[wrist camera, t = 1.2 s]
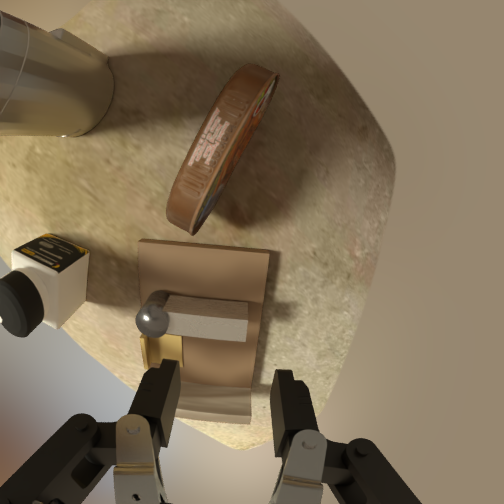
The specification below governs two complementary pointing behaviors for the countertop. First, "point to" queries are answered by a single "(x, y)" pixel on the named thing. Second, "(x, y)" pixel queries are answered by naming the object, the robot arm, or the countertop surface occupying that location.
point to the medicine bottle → (43, 284)
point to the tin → (219, 146)
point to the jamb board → (203, 349)
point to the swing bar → (193, 317)
